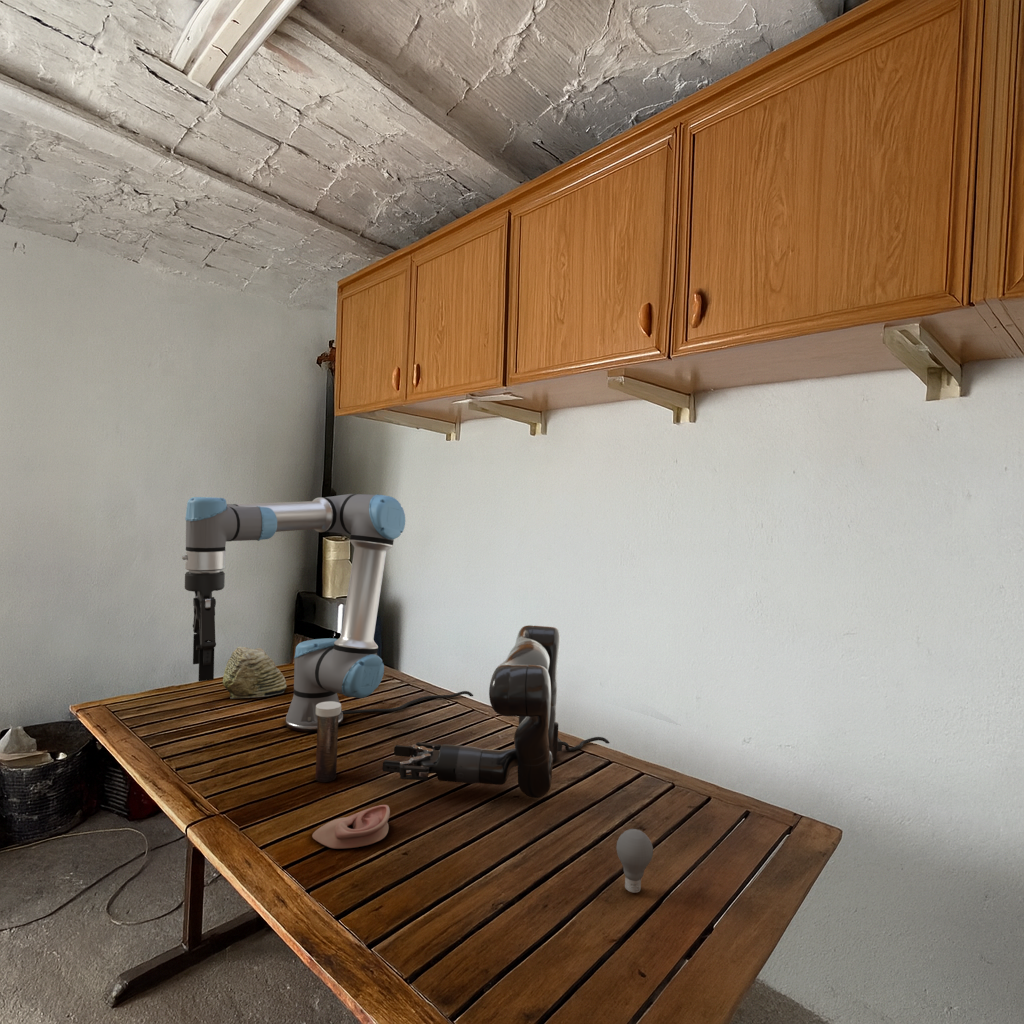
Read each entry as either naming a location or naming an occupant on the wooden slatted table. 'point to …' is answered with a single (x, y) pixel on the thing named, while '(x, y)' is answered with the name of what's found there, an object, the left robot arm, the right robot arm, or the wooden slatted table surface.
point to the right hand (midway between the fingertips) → (388, 757)
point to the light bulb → (634, 857)
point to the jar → (326, 748)
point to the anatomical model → (355, 829)
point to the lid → (328, 709)
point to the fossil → (252, 674)
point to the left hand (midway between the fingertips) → (202, 671)
